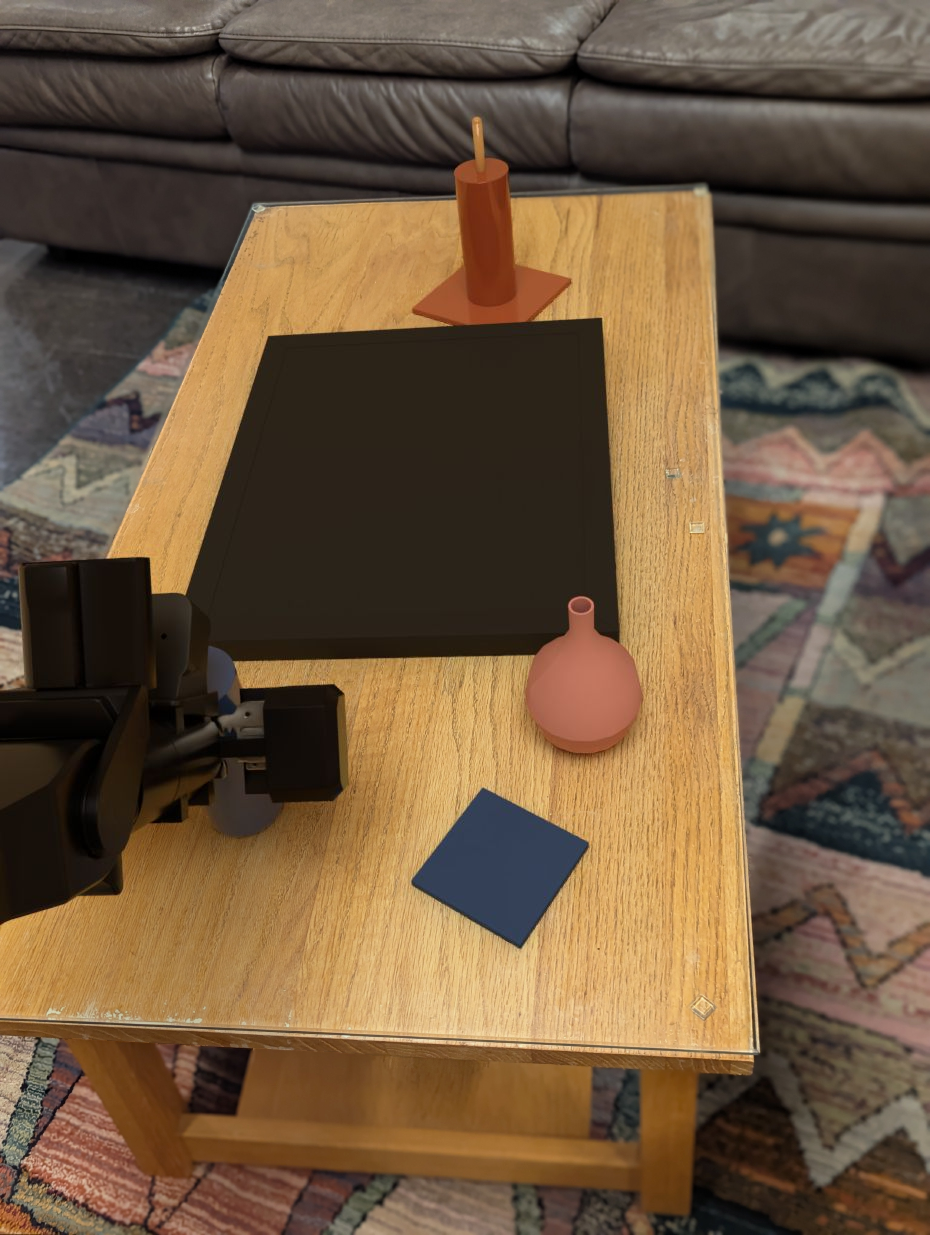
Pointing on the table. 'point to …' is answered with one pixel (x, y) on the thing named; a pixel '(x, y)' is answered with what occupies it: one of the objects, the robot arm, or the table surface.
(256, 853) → the table surface
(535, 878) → the blue mat
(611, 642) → the terracotta bud vase
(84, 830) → the robot arm
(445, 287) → the terracotta tile
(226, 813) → the blue cylinder
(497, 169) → the terracotta candle
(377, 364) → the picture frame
